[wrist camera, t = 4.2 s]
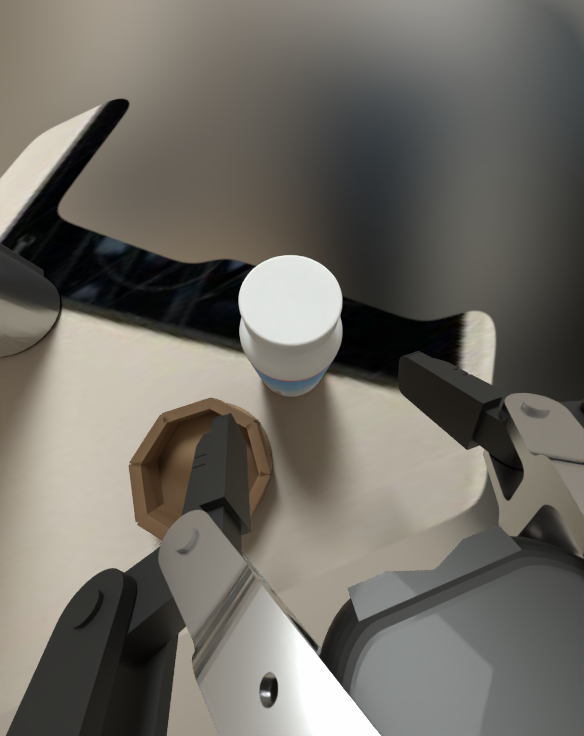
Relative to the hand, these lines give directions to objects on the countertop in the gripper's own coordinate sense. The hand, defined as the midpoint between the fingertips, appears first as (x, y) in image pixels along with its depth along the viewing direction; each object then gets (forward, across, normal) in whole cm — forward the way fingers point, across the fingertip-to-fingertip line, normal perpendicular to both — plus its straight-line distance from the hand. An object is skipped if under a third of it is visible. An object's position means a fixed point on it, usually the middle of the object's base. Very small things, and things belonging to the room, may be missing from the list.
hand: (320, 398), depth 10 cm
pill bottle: (+10, 0, +4) cm, 11 cm away
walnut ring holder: (+6, +9, +8) cm, 13 cm away
